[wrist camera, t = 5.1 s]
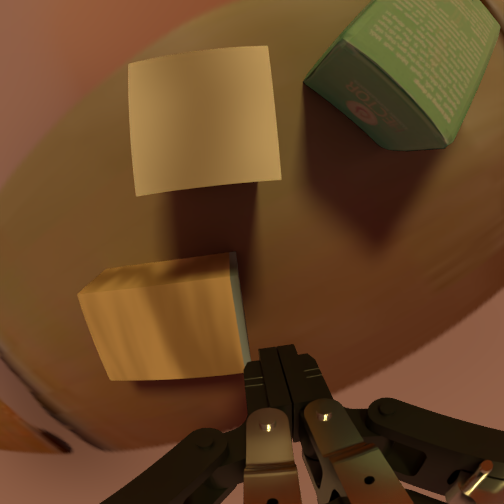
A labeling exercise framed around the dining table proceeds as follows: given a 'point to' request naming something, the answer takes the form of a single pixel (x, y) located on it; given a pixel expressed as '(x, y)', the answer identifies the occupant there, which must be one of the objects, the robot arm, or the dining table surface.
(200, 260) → the oak pillar
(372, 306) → the dining table surface
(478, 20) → the box
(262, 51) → the birch pillar
